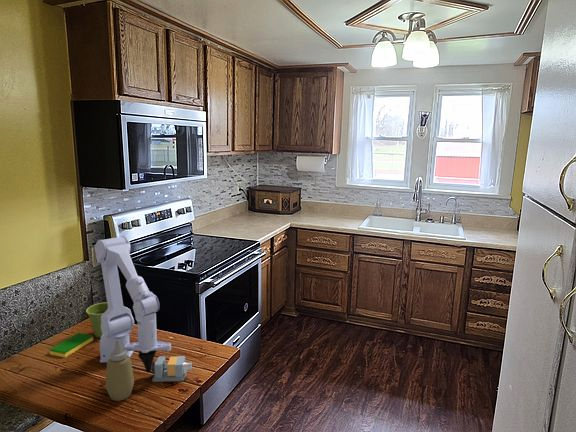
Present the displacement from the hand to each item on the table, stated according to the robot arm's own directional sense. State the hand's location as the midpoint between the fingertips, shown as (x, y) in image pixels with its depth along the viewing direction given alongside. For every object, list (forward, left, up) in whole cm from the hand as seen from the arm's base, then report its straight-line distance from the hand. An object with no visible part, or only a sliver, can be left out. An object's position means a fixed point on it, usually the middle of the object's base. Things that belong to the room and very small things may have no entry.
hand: (148, 370), depth 131 cm
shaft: (+8, 0, 0) cm, 8 cm away
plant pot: (-26, +31, -2) cm, 41 cm away
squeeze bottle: (-6, -10, -2) cm, 12 cm away
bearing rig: (+7, 0, -2) cm, 7 cm away
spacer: (+8, 0, -1) cm, 8 cm away
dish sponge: (-34, +21, -3) cm, 40 cm away
